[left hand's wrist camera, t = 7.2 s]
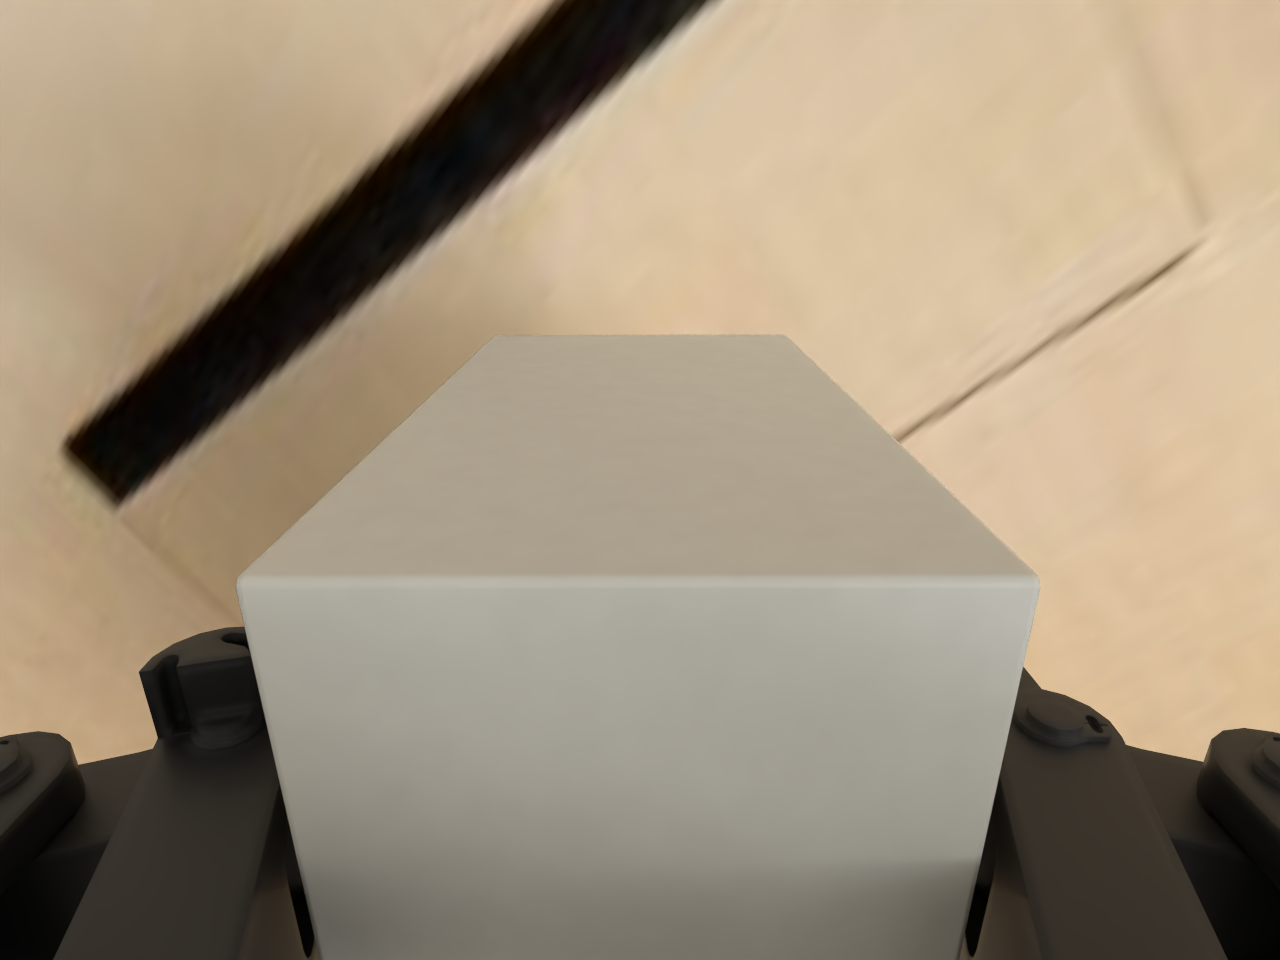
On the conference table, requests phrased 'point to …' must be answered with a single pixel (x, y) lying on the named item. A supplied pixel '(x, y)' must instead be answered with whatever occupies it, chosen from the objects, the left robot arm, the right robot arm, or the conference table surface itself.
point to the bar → (638, 668)
